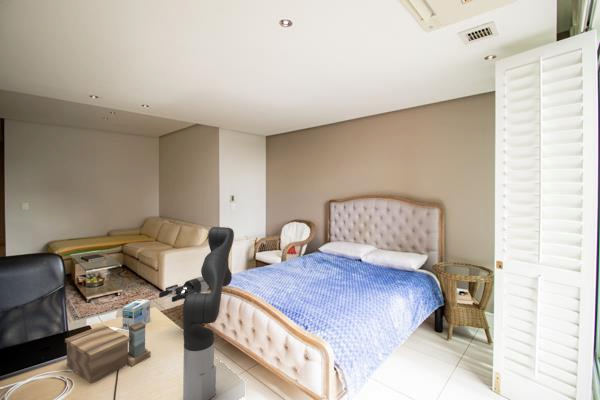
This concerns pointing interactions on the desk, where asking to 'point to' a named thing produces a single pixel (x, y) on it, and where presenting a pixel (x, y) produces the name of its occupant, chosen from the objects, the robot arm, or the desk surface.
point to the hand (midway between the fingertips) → (165, 297)
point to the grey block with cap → (136, 339)
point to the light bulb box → (136, 313)
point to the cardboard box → (100, 353)
